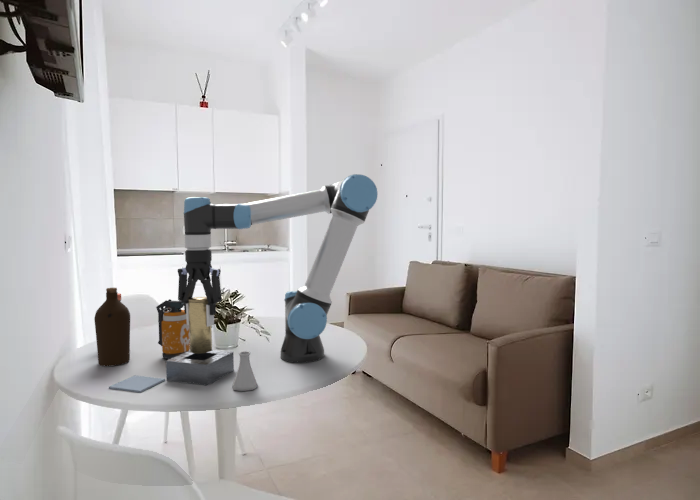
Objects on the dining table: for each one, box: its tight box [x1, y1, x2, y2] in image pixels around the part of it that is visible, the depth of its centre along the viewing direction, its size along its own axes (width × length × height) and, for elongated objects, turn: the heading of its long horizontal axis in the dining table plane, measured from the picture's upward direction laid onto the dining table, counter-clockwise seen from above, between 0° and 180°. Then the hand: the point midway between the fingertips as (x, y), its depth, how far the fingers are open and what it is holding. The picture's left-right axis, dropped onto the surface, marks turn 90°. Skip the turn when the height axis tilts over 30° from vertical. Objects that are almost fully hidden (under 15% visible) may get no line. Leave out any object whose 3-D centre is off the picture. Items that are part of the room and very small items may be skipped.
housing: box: [165, 349, 235, 386], centre depth 140 cm, size 14×14×6 cm
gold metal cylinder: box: [189, 296, 213, 354], centre depth 139 cm, size 6×6×16 cm
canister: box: [155, 298, 190, 360], centre depth 159 cm, size 9×11×20 cm
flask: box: [232, 350, 259, 392], centre depth 130 cm, size 7×7×10 cm
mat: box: [108, 374, 166, 393], centre depth 133 cm, size 11×10×1 cm
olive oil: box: [93, 287, 131, 367], centre depth 153 cm, size 11×11×25 cm
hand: (200, 324), depth 139 cm, fingers closed on gold metal cylinder, 6 cm apart
